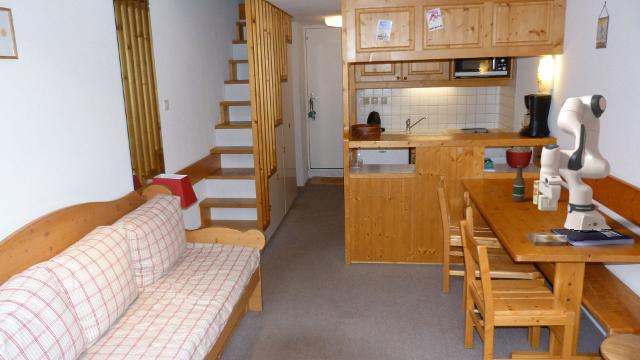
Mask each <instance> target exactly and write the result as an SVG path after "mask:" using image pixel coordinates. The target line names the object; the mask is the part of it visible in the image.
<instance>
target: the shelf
mask: <svg viewBox="0 0 640 360" xmlns="http://www.w3.org/2000/svg"><path fill="white" fill-rule="evenodd" d="M525 236H526V238H527V239H528V240H529V241H530V242H531V243H532V245H534V246H535V247H537V246H538V247H539V246H541V247H542V246H544V247H545V246H549V247H551V246H553V247H555V246H558V247H559V246H562V247H563V246H567V242H568V241H567V240H568V235H567V234H558V233H557V232H527V233H526V235H525Z"/></svg>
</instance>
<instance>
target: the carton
mask: <svg viewBox="0 0 640 360" xmlns="http://www.w3.org/2000/svg"><path fill="white" fill-rule="evenodd" d="M548 198H549V197H547V196H546V195H539V200H538V206H537V209H538V210H540V211H558V204H559V199H558V200H554V201H553V203H552V206H548V201H549V199H548Z"/></svg>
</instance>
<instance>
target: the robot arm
mask: <svg viewBox="0 0 640 360" xmlns="http://www.w3.org/2000/svg"><path fill="white" fill-rule="evenodd" d="M606 109H607V100H606V98H605V97H604V96H603V95H601V94H593V95H591V94H590V95H588V94H587V95H581V96H578V97H575V96H573V97H569V98H567V99H566V100H564V101H563V103H562V104H561V108H560V111H559V113H558V116H557V120H556V122H557V123H556V124H557V127H558V128H559V130H560V131H562V132H563V133H564V134H567V135H570V136H572V137H574V138H575V141H574V149H572V150H569V149H561V148H560V145H559V144H556V143H549V144H546V145H544V146H543V147H542V149H541V155H540V156H541V157H540V165H541V166H540V167H541V168H540V171H539V180H540V181H539V191H540V192H541V193H543V195H546V196H547V197H549V198H548V199H549V201H548V206H552V203H553V201H554V200H558V201H559V199H560V197H561V192H562V191H561V189H562V186H561V185H562V184H563V179H564V180H565V181H566V183H567V185H568V191H569V193H568V195H569V198H568V199H569V200H568V201H567V207H566V208H567V216H566V218H565V219H566V220H565V222H564V225H563V226H564V228H565V229H567V230H570V229H574V230H592V229H593V230H601V229H611V228H612V227H610V226H609V225H608V224H607V221H606V218H605V217H604V216H603V215H602V214H601V213H600V212H598V211H597V209H599V207H600V206H599V205H598V204H595V203H593V194H594V192H593V188H592V187H591V186H590V185H588V184H587V183H585V182H584V181H583V180H582V179H593V180H595V179H605V178H607V176H609V174H610V172H611V164H610V162H609V161H608V160H607V159H606V158H604V156H602V154H601V152H600V149H599V139H600V133H601V132H600V131H601V126H600V125H601V123H600V122H601V121H600V118H601V116H602V115H603V114H604V113H605V111H606ZM561 177H562V178H563V179H562V178H561ZM574 230H573V231H574ZM611 230H612V229H611Z"/></svg>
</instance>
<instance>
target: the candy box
mask: <svg viewBox="0 0 640 360" xmlns="http://www.w3.org/2000/svg"><path fill="white" fill-rule="evenodd" d="M539 181H540V179H538V180H537V179H536V180H533V195H532V196H533V197H532V200H533V201H532V202H533V203H532V204H534V205H538V200H539V195H543V193H541V192H540V191H539Z"/></svg>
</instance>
